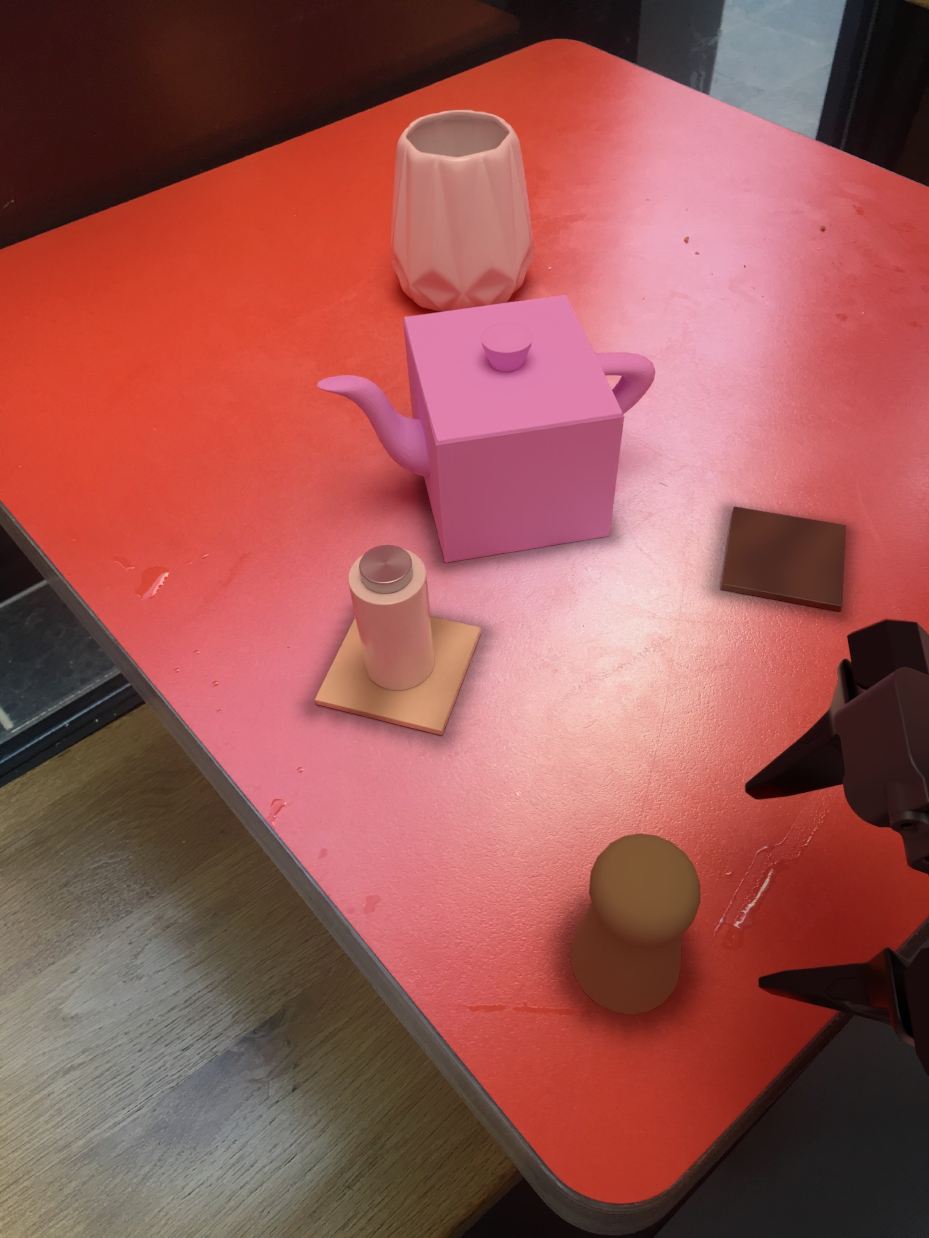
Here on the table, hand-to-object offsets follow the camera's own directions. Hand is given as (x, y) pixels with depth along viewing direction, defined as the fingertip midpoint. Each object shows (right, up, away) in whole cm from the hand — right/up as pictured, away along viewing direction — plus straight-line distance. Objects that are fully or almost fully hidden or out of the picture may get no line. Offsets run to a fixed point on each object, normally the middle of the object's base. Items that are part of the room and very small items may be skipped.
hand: (755, 882), depth 42 cm
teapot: (-11, +23, +34) cm, 42 cm away
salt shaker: (-18, +9, +22) cm, 30 cm away
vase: (-13, +46, +53) cm, 71 cm away
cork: (-4, -7, +9) cm, 12 cm away
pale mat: (-18, +9, +22) cm, 30 cm away
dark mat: (+11, +16, +27) cm, 34 cm away
